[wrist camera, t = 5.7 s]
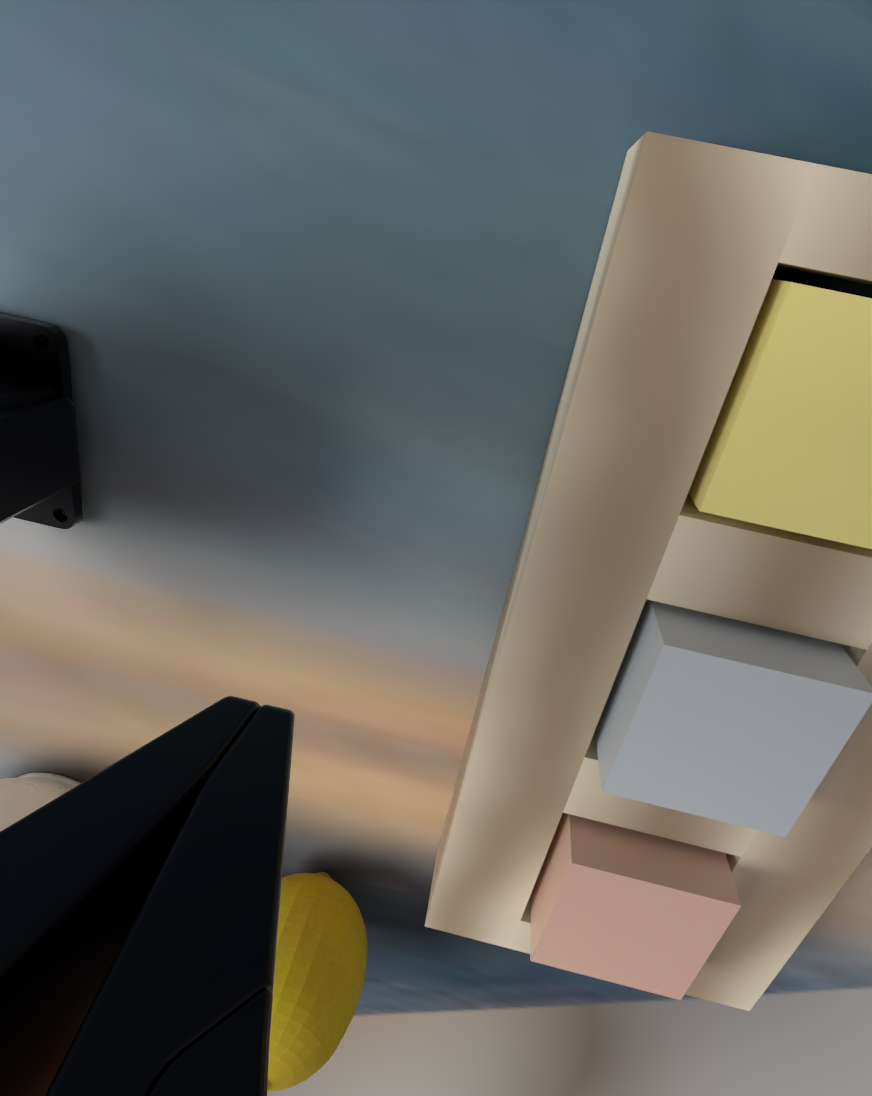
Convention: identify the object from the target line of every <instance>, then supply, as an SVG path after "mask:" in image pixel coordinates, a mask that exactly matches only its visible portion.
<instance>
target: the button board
mask: <svg viewBox="0 0 872 1096" xmlns="http://www.w3.org/2000/svg"><path fill="white" fill-rule="evenodd" d="M776 267H782V268H787V269H792V270H797V271H802V272H807V273H812V274H817V275H822V276H827V277H832V278H837V279H842V280H847V281H852V282H857V283H862V284H867V285H872V174H868V173H862V172H857V171H852V170H847V169H842V168H836V167H831V166H826V165H821V164H815V163H810V162H805V161H800V160H794V159H789V158H784V157H779V156H774V155H768V154H763V153H758V152H753V151H747V150H742V149H737V148H732V147H726V146H721V145H716V144H711V143H706V142H700V141H695V140H690V139H685V138H679V137H674V136H669V135H664V134H658V133H653V132H648V131H647V132H646V133H645V134H644V135H643V136H642V137H641V138H640V139H639V140H638V141H637V142H636V143H635V144H634V145H633V146H632V147H631V148H630V149H629V150H628V151H627V154H626V158H625V162H624V166H623V169H622V173H621V177H620V180H619V184H618V188H617V191H616V195H615V199H614V202H613V206H612V210H611V214H610V217H609V221H608V225H607V228H606V232H605V236H604V239H603V243H602V247H601V250H600V254H599V258H598V261H597V265H596V269H595V273H594V276H593V280H592V284H591V287H590V291H589V295H588V298H587V302H586V306H585V309H584V313H583V317H582V321H581V324H580V328H579V332H578V335H577V339H576V343H575V346H574V350H573V354H572V357H571V361H570V365H569V368H568V372H567V376H566V380H565V383H564V387H563V391H562V394H561V398H560V402H559V405H558V409H557V413H556V416H555V420H554V424H553V428H552V431H551V435H550V439H549V442H548V446H547V450H546V453H545V457H544V461H543V464H542V468H541V472H540V475H539V479H538V483H537V487H536V490H535V494H534V498H533V501H532V505H531V509H530V512H529V516H528V520H527V523H526V527H525V531H524V535H523V538H522V542H521V546H520V549H519V553H518V557H517V560H516V564H515V568H514V571H513V575H512V579H511V582H510V586H509V590H508V594H507V597H506V601H505V605H504V608H503V612H502V616H501V619H500V623H499V627H498V630H497V634H496V638H495V642H494V645H493V649H492V653H491V656H490V660H489V664H488V667H487V671H486V675H485V678H484V682H483V686H482V689H481V693H480V697H479V701H478V704H477V708H476V712H475V715H474V719H473V723H472V726H471V730H470V734H469V737H468V741H467V745H466V748H465V752H464V756H463V760H462V763H461V767H460V771H459V774H458V778H457V782H456V785H455V789H454V793H453V796H452V800H451V804H450V808H449V811H448V815H447V819H446V822H445V826H444V830H443V833H442V837H441V841H440V844H439V848H438V852H437V855H436V861H435V867H434V873H433V879H432V885H431V891H430V897H429V903H428V909H427V915H426V921H425V927H429V928H432V929H436V930H440V931H444V932H448V933H452V934H455V935H459V936H463V937H467V938H471V939H475V940H478V941H482V942H486V943H490V944H494V945H498V946H501V947H505V948H509V949H513V950H517V951H520V952H524V953H528V954H530V946H531V892H532V890H533V887H534V885H535V882H536V880H537V877H538V875H539V872H540V870H541V867H542V864H543V862H544V859H545V857H546V854H547V852H548V849H549V847H550V844H551V841H552V839H553V836H554V834H555V831H556V829H557V826H558V824H559V821H560V818H561V816H562V813H567V814H571V815H575V816H579V817H583V818H587V819H591V820H595V821H599V822H603V823H607V824H611V825H615V826H619V827H623V828H627V829H631V830H635V831H639V832H643V833H647V834H651V835H655V836H659V837H663V838H667V839H671V840H675V841H679V842H683V843H687V844H691V845H695V846H699V847H703V848H707V849H711V850H715V851H719V852H723V853H725V854H726V857H727V860H728V864H729V867H730V870H731V874H732V877H733V880H734V883H735V887H736V890H737V893H738V897H739V900H740V903H741V907H740V909H739V910H738V912H737V913H736V915H735V916H734V918H733V920H732V921H731V923H730V924H729V926H728V927H727V929H726V930H725V932H724V934H723V935H722V937H721V938H720V940H719V941H718V943H717V944H716V946H715V948H714V949H713V951H712V952H711V954H710V955H709V957H708V958H707V960H706V962H705V963H704V965H703V966H702V968H701V969H700V971H699V972H698V974H697V976H696V977H695V979H694V980H693V982H692V983H691V985H690V986H689V988H688V990H687V991H686V993H685V995H689V996H693V997H696V998H700V999H704V1000H708V1001H712V1002H716V1003H719V1004H723V1005H727V1006H731V1007H735V1008H738V1009H742V1010H746V1011H750V1010H751V1009H752V1007H753V1006H754V1005H755V1003H756V1002H757V1001H758V999H759V998H760V997H761V995H762V994H763V993H764V991H765V990H766V989H767V987H768V986H769V985H770V983H771V982H772V981H773V979H774V978H775V977H776V975H777V974H778V973H779V971H780V970H781V969H782V967H783V966H784V964H785V963H786V962H787V960H788V959H789V958H790V956H791V955H792V954H793V952H794V951H795V950H796V948H797V947H798V946H799V944H800V943H801V942H802V940H803V939H804V938H805V936H806V935H807V934H808V932H809V931H810V930H811V928H812V927H813V926H814V924H815V923H816V922H817V920H818V919H819V918H820V916H821V915H822V913H823V912H824V911H825V909H826V908H827V907H828V905H829V904H830V903H831V901H832V900H833V899H834V897H835V896H836V895H837V893H838V892H839V891H840V889H841V888H842V887H843V885H844V884H845V883H846V881H847V880H848V879H849V877H850V876H851V875H852V873H853V872H854V871H855V869H856V868H857V866H858V865H859V864H860V862H861V861H862V860H863V858H864V857H865V856H866V854H867V853H868V852H869V850H870V849H871V848H872V703H871V705H870V707H869V708H868V710H867V711H866V713H865V714H864V716H863V717H862V719H861V721H860V722H859V724H858V725H857V727H856V728H855V730H854V731H853V733H852V735H851V736H850V738H849V739H848V741H847V742H846V744H845V745H844V747H843V749H842V750H841V752H840V753H839V755H838V756H837V758H836V759H835V761H834V763H833V764H832V766H831V767H830V769H829V770H828V772H827V773H826V775H825V777H824V778H823V780H822V781H821V783H820V784H819V786H818V787H817V789H816V791H815V792H814V794H813V795H812V797H811V798H810V800H809V801H808V803H807V805H806V806H805V808H804V809H803V811H802V812H801V814H800V815H799V817H798V818H797V820H796V822H795V823H794V825H793V826H792V828H791V829H790V831H789V832H788V834H787V836H786V837H783V836H779V835H775V834H770V833H766V832H762V831H758V830H754V829H750V828H746V827H742V826H738V825H734V824H730V823H726V822H722V821H718V820H714V819H710V818H706V817H701V816H697V815H693V814H689V813H685V812H681V811H677V810H673V809H669V808H665V807H661V806H657V805H653V804H649V803H645V802H641V801H637V800H633V799H628V798H624V797H620V796H616V795H612V794H608V793H604V792H602V789H601V780H600V771H599V762H598V753H597V744H596V735H595V729H596V727H597V724H598V722H599V719H600V716H601V714H602V711H603V709H604V706H605V704H606V701H607V699H608V696H609V693H610V691H611V688H612V686H613V683H614V681H615V678H616V676H617V673H618V670H619V668H620V665H621V663H622V660H623V658H624V655H625V653H626V650H627V648H628V645H629V642H630V640H631V637H632V635H633V632H634V630H635V627H636V625H637V622H638V619H639V617H640V614H641V612H642V609H643V607H644V604H645V602H646V599H648V600H652V601H656V602H661V603H665V604H669V605H674V606H678V607H682V608H687V609H691V610H695V611H700V612H704V613H709V614H713V615H717V616H722V617H726V618H730V619H735V620H739V621H743V622H748V623H752V624H756V625H761V626H765V627H769V628H774V629H778V630H783V631H787V632H791V633H796V634H800V635H804V636H809V637H813V638H817V639H822V640H826V641H830V642H835V643H839V644H840V645H841V646H842V647H843V649H844V650H845V651H846V653H847V654H848V656H849V657H850V658H851V660H852V661H853V662H854V664H855V665H856V666H857V668H858V669H859V670H860V672H861V673H862V674H863V676H864V677H865V678H866V680H867V681H868V682H869V684H870V685H871V687H872V549H868V548H863V547H859V546H854V545H850V544H845V543H841V542H836V541H832V540H827V539H823V538H818V537H814V536H809V535H804V534H800V533H795V532H791V531H786V530H782V529H777V528H773V527H768V526H764V525H759V524H755V523H750V522H746V521H741V520H737V519H732V518H728V517H723V516H719V515H714V514H710V513H705V512H701V511H699V510H698V508H697V507H696V505H695V503H694V502H693V500H692V498H691V497H690V495H689V493H688V492H689V489H690V487H691V484H692V482H693V479H694V477H695V474H696V471H697V469H698V466H699V464H700V461H701V459H702V456H703V454H704V451H705V448H706V446H707V443H708V441H709V438H710V436H711V433H712V431H713V428H714V426H715V423H716V420H717V418H718V415H719V413H720V410H721V408H722V405H723V403H724V400H725V397H726V395H727V392H728V390H729V387H730V385H731V382H732V380H733V377H734V374H735V372H736V369H737V367H738V364H739V362H740V359H741V357H742V354H743V352H744V349H745V346H746V344H747V341H748V339H749V336H750V334H751V331H752V329H753V326H754V323H755V321H756V318H757V316H758V313H759V311H760V308H761V306H762V303H763V300H764V298H765V295H766V293H767V290H768V288H769V285H770V283H771V280H772V278H773V275H774V272H775V270H776Z"/></svg>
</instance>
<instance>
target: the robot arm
mask: <svg viewBox="0 0 872 1096" xmlns="http://www.w3.org/2000/svg"><path fill="white" fill-rule="evenodd" d="M44 335H45V336H46V337H47V338H48V339H49V341H50V345H51V346H50V349H49V348H48V347H47V346H46V345H45V343H44V340H43V338H44ZM61 509H63V510H64V511H65V512H66V514H67V516H68V517H67V516H65V515H64V514H63V513H62V510H61ZM82 514H83V513H82V502H81V490H80V468H79V456H78V444H77V433H76V421H75V410H74V406H73V398H72V387H71V375H70V364H69V352H68V343H67V340H66V337H65V335H64V334H63V332H62V331H61V330H60V329H59V328H58V327H57V326H55V325H52V324H50V323H46V322H41V321H36V320H32V319H27V318H23V317H18V316H13V315H9V314H4V313H0V523H2V522H4V521H6V520H8V519H10V518H12V517H14V518H18V519H23V520H27V521H31V522H35V523H40V524H44V525H48V526H52V527H57V528H61V529H68V528H70V527H72V526H74V525H76V524H77V523H79V522H80V521H81V519H82ZM293 729H294V713H293V712H292V711H290V710H287V709H283V708H279V707H275V706H270V705H263V706H260V705H259V704H258V703H257V702H254V701H250V700H246V699H242V698H238V697H234V696H229V697H225V698H223V699H221V700H219V701H218V702H216V703H214V704H213V705H211V706H209V707H208V708H206V709H204V710H203V711H201V712H199V713H198V714H196V715H194V716H193V717H191V718H189V719H188V720H186V721H184V722H183V723H181V724H179V725H178V726H176V727H174V728H173V729H171V730H169V731H168V732H166V733H164V734H163V735H161V736H159V737H158V738H156V739H154V740H153V741H151V742H149V743H148V744H146V745H144V746H142V747H141V748H139V749H137V750H136V751H134V752H132V753H131V754H129V755H127V756H126V757H124V758H122V759H121V760H119V761H117V762H116V763H114V764H112V765H111V766H109V767H107V768H106V769H104V770H102V771H101V772H99V773H97V774H96V775H94V776H92V777H91V778H89V779H87V780H86V781H84V782H82V783H81V784H79V785H77V786H76V787H74V788H72V789H71V790H69V791H67V792H66V793H64V794H62V795H61V796H59V797H57V798H55V799H54V800H52V801H50V802H49V803H47V804H45V805H44V806H42V807H40V808H39V809H37V810H35V811H34V812H32V813H30V814H29V815H27V816H25V817H24V818H22V819H20V820H19V821H17V822H15V823H14V824H12V825H10V826H9V827H7V828H5V829H4V830H2V831H0V1096H267V1085H268V1063H269V1041H270V1028H271V1015H272V1002H273V984H274V971H275V958H276V946H277V933H278V920H279V907H280V895H281V882H282V869H283V856H284V843H285V831H286V818H287V805H288V792H289V780H290V767H291V754H292V741H293Z"/></svg>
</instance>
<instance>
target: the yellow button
mask: <svg viewBox="0 0 872 1096" xmlns="http://www.w3.org/2000/svg"><path fill="white" fill-rule="evenodd" d="M688 493H689V495H690V497H691V498H692V500H693V502H694V503H695V505H696V507H697V508H698V510H699V511H701V512H705V513H710V514H714V515H719V516H723V517H728V518H732V519H737V520H741V521H746V522H750V523H755V524H759V525H764V526H768V527H773V528H777V529H782V530H786V531H791V532H795V533H800V534H804V535H809V536H814V537H818V538H823V539H827V540H832V541H836V542H841V543H845V544H850V545H854V546H859V547H863V548H868V549H872V298H868V297H863V296H858V295H853V294H848V293H843V292H838V291H833V290H828V289H823V288H818V287H813V286H808V285H803V284H798V283H793V282H788V281H782V280H776V279H772V280H771V283H770V285H769V288H768V290H767V293H766V295H765V298H764V300H763V303H762V306H761V308H760V311H759V313H758V316H757V318H756V321H755V323H754V326H753V329H752V331H751V334H750V336H749V339H748V341H747V344H746V346H745V349H744V352H743V354H742V357H741V359H740V362H739V364H738V367H737V369H736V372H735V374H734V377H733V380H732V382H731V385H730V387H729V390H728V392H727V395H726V397H725V400H724V403H723V405H722V408H721V410H720V413H719V415H718V418H717V420H716V423H715V426H714V428H713V431H712V433H711V436H710V438H709V441H708V443H707V446H706V448H705V451H704V454H703V456H702V459H701V461H700V464H699V466H698V469H697V471H696V474H695V477H694V479H693V482H692V484H691V487H690V489H689V492H688Z"/></svg>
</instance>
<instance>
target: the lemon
mask: <svg viewBox="0 0 872 1096" xmlns="http://www.w3.org/2000/svg"><path fill="white" fill-rule="evenodd" d="M366 961H367V934H366V928H365V924H364V921H363V918H362V915H361V912H360V910H359V907H358V905H357V904H356V902H355V901H354V899H353V898H352V897H351V895H350V894H349V892H348V891H347V890H346V889H344V888H343V887H342V886H341V885H340V884H339V883H337V882H335V881H334V880H332V878H331V877H330V875H329V874H327V873H326V872H318V873H297V874H291V875H288V876H285V877H282V882H281V895H280V907H279V920H278V933H277V946H276V958H275V971H274V984H273V1002H272V1015H271V1028H270V1041H269V1063H268V1085H267V1091H276V1090H283V1089H286V1088H289V1087H291V1086H294V1085H297V1084H299V1083H301V1082H303V1081H304V1080H306V1079H307V1078H309V1077H310V1076H311V1075H313V1074H314V1073H315V1072H316V1071H318V1070H319V1069H320V1068H322V1066H323V1065H324V1064H325V1063H326V1062H327V1061H328V1060H329V1059H330V1057H331V1056H332V1054H333V1053H334V1051H335V1050H336V1048H337V1047H338V1045H339V1043H340V1041H341V1039H342V1038H343V1036H344V1034H345V1032H346V1030H347V1028H348V1026H349V1023H350V1021H351V1019H352V1017H353V1015H354V1012H355V1010H356V1007H357V1004H358V1002H359V999H360V995H361V992H362V988H363V983H364V979H365V972H366Z"/></svg>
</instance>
